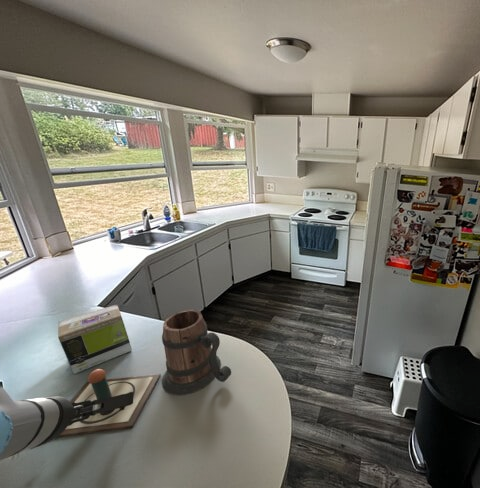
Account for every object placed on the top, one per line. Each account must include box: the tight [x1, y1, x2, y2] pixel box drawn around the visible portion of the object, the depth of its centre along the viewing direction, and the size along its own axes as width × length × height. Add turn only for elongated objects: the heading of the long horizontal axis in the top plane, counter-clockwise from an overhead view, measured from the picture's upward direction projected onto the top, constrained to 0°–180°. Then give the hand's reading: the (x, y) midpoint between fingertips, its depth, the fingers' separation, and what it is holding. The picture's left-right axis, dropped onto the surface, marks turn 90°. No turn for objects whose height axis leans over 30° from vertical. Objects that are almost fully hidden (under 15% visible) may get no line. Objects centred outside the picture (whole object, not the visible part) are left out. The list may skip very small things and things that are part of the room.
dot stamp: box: [87, 368, 116, 415], centre depth 64 cm, size 4×4×13 cm
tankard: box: [161, 309, 232, 396], centre depth 76 cm, size 24×17×20 cm
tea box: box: [57, 304, 133, 375], centre depth 83 cm, size 15×10×15 cm, turn 134°
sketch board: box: [56, 373, 161, 439], centre depth 69 cm, size 20×16×1 cm
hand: (95, 408), depth 61 cm, fingers open, 13 cm apart
